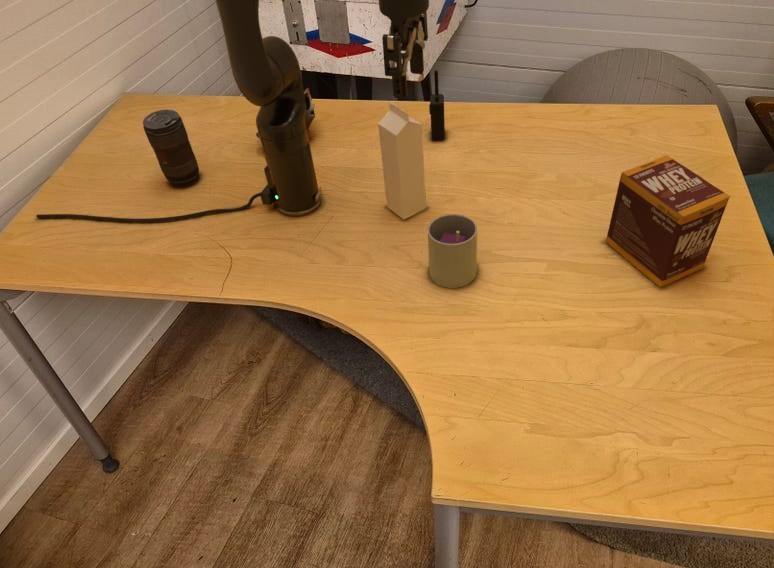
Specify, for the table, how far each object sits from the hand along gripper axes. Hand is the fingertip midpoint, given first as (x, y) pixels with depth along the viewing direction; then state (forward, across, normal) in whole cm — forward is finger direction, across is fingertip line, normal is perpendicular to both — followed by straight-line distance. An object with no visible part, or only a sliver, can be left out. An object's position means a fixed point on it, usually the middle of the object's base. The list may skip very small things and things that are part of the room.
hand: (409, 84), depth 104 cm
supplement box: (+30, -4, +45) cm, 54 cm away
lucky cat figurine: (+30, -27, -42) cm, 58 cm away
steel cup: (+30, +10, +10) cm, 33 cm away
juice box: (+29, +10, +10) cm, 33 cm away
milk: (+30, -7, -5) cm, 31 cm away
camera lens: (+30, -5, -58) cm, 66 cm away
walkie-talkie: (+30, -36, -7) cm, 48 cm away
